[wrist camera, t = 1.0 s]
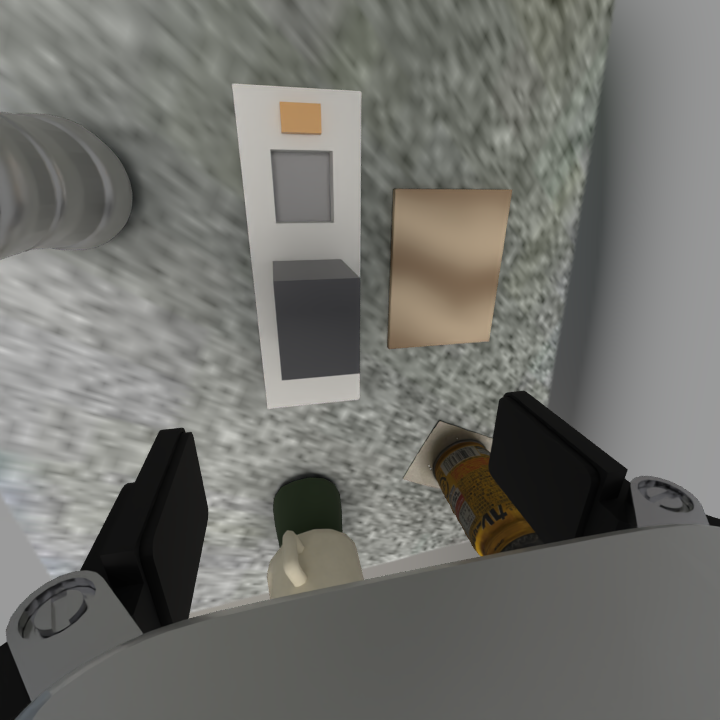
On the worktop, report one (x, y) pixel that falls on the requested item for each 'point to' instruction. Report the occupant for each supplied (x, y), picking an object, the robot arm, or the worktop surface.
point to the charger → (317, 318)
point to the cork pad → (445, 265)
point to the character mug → (310, 540)
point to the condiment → (471, 489)
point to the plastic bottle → (58, 186)
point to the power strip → (299, 206)
